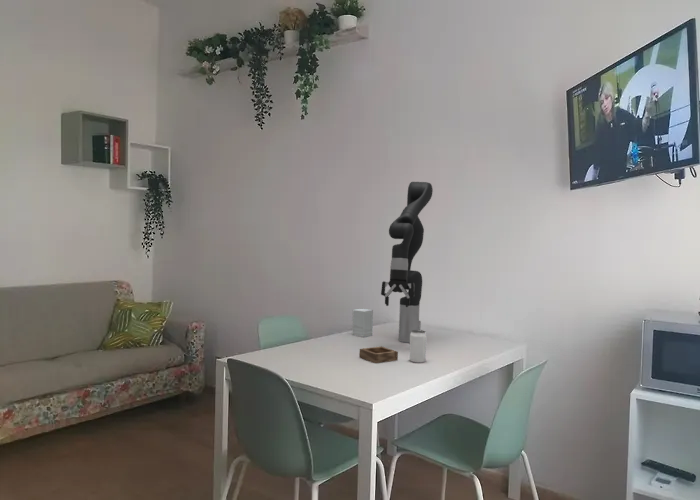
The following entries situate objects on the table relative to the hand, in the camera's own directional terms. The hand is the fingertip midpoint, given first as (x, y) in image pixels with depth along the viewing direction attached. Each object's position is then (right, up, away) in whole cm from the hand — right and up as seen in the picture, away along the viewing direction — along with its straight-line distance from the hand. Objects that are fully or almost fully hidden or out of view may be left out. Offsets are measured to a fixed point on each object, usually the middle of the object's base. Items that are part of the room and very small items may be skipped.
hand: (397, 306), depth 241 cm
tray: (-9, -20, -16) cm, 27 cm away
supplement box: (-14, -18, +33) cm, 40 cm away
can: (+7, -20, -18) cm, 28 cm away
